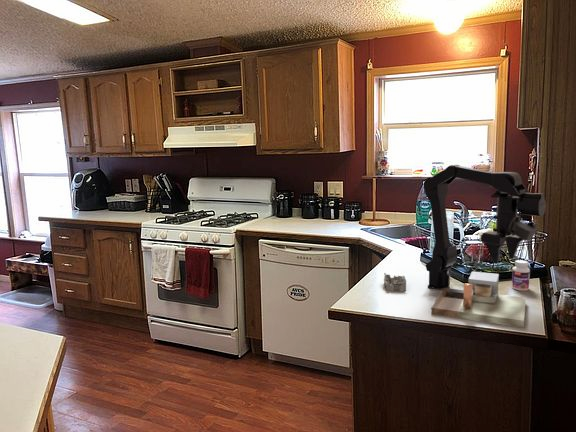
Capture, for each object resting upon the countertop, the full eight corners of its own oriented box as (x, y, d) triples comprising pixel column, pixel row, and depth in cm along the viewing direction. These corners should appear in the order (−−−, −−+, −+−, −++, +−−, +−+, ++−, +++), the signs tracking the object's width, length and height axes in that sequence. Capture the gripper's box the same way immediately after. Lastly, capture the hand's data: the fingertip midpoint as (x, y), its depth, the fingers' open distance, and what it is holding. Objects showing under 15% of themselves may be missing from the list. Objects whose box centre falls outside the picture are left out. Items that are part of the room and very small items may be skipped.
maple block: (474, 300, 146) (474, 286, 145) (476, 295, 150) (476, 282, 149) (489, 302, 144) (490, 288, 143) (491, 297, 147) (491, 284, 147)
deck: (431, 313, 140) (431, 307, 140) (443, 293, 159) (443, 287, 158) (523, 327, 129) (523, 320, 128) (525, 303, 147) (525, 297, 147)
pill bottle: (511, 289, 160) (513, 262, 159) (511, 285, 165) (512, 259, 164) (529, 291, 158) (530, 264, 157) (528, 287, 163) (529, 260, 161)
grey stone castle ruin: (383, 282, 173) (383, 272, 173) (403, 283, 172) (404, 272, 172) (385, 291, 163) (385, 280, 162) (407, 292, 162) (407, 280, 161)
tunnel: (467, 300, 145) (468, 278, 144) (471, 292, 153) (472, 271, 152) (495, 304, 141) (496, 281, 140) (497, 295, 149) (498, 274, 148)
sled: (462, 307, 138) (463, 285, 137) (469, 292, 151) (469, 271, 150) (492, 311, 134) (493, 288, 133) (496, 296, 147) (497, 274, 146)
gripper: (516, 219, 133) (513, 272, 135) (548, 212, 144) (544, 261, 146) (481, 214, 142) (478, 264, 144) (512, 208, 153) (509, 254, 155)
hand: (503, 260), depth 147 cm, fingers open, 9 cm apart
